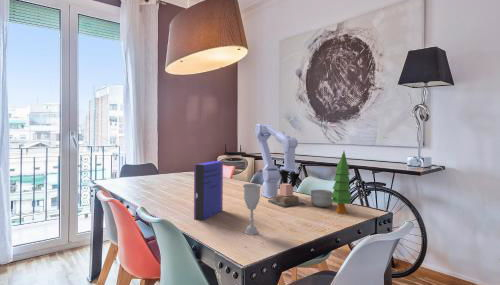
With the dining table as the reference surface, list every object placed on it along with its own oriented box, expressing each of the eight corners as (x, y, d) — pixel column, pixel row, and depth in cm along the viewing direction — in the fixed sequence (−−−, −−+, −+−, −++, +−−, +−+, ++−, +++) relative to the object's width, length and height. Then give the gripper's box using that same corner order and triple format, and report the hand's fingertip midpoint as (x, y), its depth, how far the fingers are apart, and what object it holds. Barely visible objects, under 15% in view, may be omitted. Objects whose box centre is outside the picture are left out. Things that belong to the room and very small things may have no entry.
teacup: (308, 206, 155) (308, 191, 155) (313, 202, 165) (314, 187, 164) (335, 210, 148) (335, 194, 148) (339, 205, 158) (340, 190, 158)
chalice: (250, 227, 120) (251, 183, 119) (264, 231, 115) (265, 185, 115) (238, 232, 114) (238, 185, 113) (252, 236, 110) (253, 187, 109)
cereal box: (213, 209, 147) (214, 160, 146) (222, 210, 145) (222, 161, 144) (194, 218, 131) (194, 164, 130) (203, 220, 129) (203, 164, 128)
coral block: (279, 195, 162) (279, 183, 162) (286, 194, 165) (286, 183, 165) (285, 196, 158) (285, 184, 158) (292, 195, 161) (293, 184, 161)
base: (268, 201, 164) (268, 194, 164) (288, 199, 171) (288, 192, 171) (283, 207, 152) (283, 199, 152) (304, 204, 159) (305, 196, 159)
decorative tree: (353, 211, 146) (354, 150, 144) (348, 216, 138) (349, 151, 137) (333, 208, 151) (334, 149, 150) (327, 213, 143) (328, 150, 142)
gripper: (275, 159, 168) (275, 183, 168) (291, 161, 155) (291, 187, 156) (286, 158, 171) (285, 182, 172) (302, 161, 158) (302, 186, 159)
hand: (289, 184), depth 164 cm, fingers open, 7 cm apart
